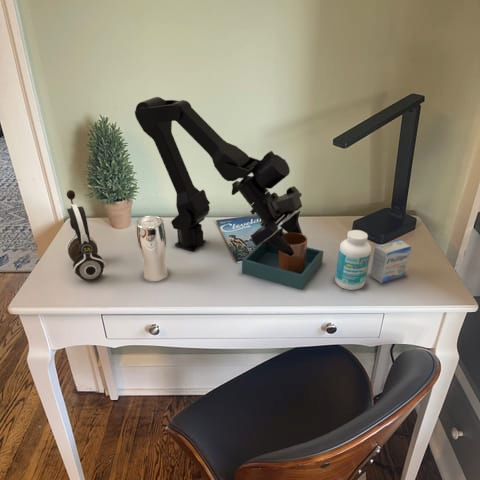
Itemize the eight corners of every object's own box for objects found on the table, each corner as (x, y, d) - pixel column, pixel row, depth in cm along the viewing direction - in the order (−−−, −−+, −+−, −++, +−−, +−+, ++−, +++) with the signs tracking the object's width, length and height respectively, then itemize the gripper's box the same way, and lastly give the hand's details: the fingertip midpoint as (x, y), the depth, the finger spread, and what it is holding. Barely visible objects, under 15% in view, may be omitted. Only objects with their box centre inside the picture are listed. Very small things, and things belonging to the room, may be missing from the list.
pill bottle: (339, 292, 120) (347, 243, 112) (330, 276, 126) (337, 228, 118) (369, 289, 121) (378, 240, 113) (358, 274, 127) (367, 226, 119)
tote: (241, 273, 127) (241, 260, 125) (265, 250, 137) (266, 237, 135) (301, 290, 121) (302, 276, 119) (322, 264, 131) (323, 250, 129)
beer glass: (173, 270, 129) (168, 217, 120) (161, 284, 123) (155, 229, 114) (149, 266, 130) (143, 213, 121) (137, 279, 125) (128, 225, 116)
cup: (273, 271, 127) (275, 240, 122) (285, 260, 132) (287, 229, 126) (297, 279, 124) (300, 247, 119) (308, 267, 129) (311, 236, 124)
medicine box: (380, 284, 123) (386, 253, 118) (369, 275, 126) (374, 245, 121) (405, 276, 126) (412, 246, 121) (393, 268, 129) (399, 238, 124)
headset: (68, 257, 134) (51, 186, 122) (97, 252, 137) (83, 182, 125) (78, 289, 122) (61, 214, 110) (110, 282, 124) (96, 208, 112)
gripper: (264, 194, 109) (307, 250, 112) (297, 167, 122) (335, 218, 125) (233, 219, 117) (273, 271, 119) (267, 191, 130) (303, 239, 132)
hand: (297, 248), depth 124 cm, fingers closed on cup, 7 cm apart
